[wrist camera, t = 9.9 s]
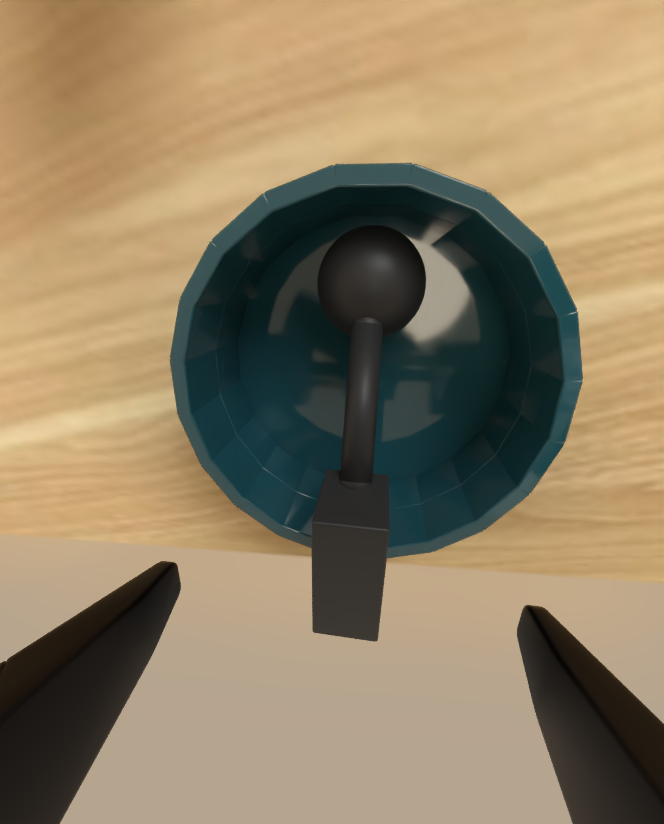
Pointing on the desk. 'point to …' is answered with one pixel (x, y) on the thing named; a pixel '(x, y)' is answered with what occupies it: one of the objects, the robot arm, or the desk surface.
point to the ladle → (360, 426)
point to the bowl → (400, 356)
